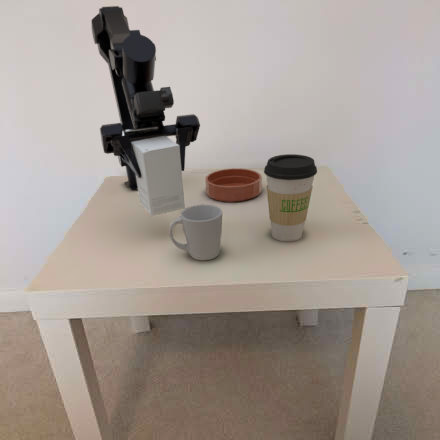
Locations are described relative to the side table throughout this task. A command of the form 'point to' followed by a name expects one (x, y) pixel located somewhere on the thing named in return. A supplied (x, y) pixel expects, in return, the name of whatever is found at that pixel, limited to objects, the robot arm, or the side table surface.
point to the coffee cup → (289, 194)
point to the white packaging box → (159, 175)
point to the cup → (200, 231)
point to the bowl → (233, 184)
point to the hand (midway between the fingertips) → (161, 173)
